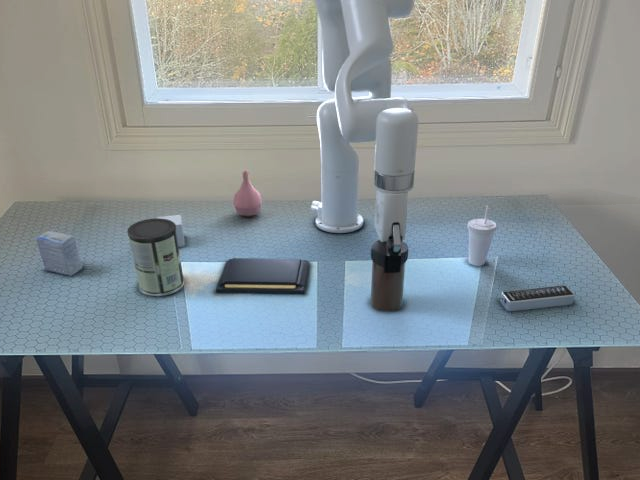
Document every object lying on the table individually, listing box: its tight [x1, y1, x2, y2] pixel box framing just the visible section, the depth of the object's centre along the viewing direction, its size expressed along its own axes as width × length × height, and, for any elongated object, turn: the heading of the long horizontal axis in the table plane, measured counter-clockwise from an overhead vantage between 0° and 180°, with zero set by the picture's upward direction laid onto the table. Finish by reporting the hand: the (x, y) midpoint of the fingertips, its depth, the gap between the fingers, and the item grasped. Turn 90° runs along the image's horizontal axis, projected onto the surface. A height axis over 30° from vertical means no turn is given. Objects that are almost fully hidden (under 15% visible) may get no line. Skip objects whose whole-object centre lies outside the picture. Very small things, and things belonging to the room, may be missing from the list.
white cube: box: [156, 214, 186, 248], centre depth 163 cm, size 6×6×6 cm
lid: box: [370, 239, 409, 266], centre depth 131 cm, size 7×7×3 cm
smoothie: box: [467, 205, 498, 267], centre depth 148 cm, size 6×6×14 cm
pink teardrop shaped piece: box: [233, 170, 263, 218], centre depth 174 cm, size 8×8×12 cm
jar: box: [370, 260, 407, 313], centre depth 134 cm, size 7×7×13 cm
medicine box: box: [35, 230, 83, 277], centre depth 151 cm, size 8×4×9 cm, turn 65°
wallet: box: [215, 257, 310, 295], centre depth 148 cm, size 20×2×15 cm
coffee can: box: [126, 217, 185, 297], centre depth 142 cm, size 10×10×14 cm
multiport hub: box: [499, 284, 576, 312], centre depth 136 cm, size 4×14×2 cm, turn 99°
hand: (388, 262), depth 132 cm, fingers closed on lid, 7 cm apart
